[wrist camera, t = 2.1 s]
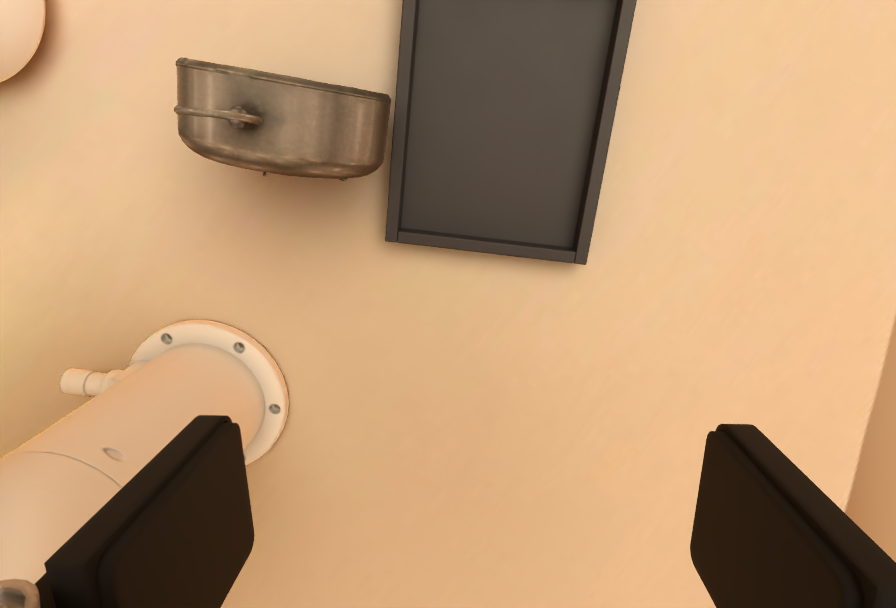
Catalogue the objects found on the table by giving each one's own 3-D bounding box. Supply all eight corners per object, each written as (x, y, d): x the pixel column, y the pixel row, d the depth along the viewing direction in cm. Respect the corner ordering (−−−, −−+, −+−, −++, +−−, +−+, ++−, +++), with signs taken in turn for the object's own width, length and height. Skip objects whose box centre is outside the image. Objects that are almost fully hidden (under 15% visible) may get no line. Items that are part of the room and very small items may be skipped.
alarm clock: (406, 99, 34) (348, 61, 19) (395, 182, 36) (332, 209, 20) (243, 70, 34) (49, 7, 19) (239, 154, 36) (58, 160, 20)
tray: (389, 236, 37) (384, 241, 35) (411, -48, 32) (407, -61, 30) (580, 258, 37) (586, 265, 35) (633, -24, 32) (643, -36, 30)
